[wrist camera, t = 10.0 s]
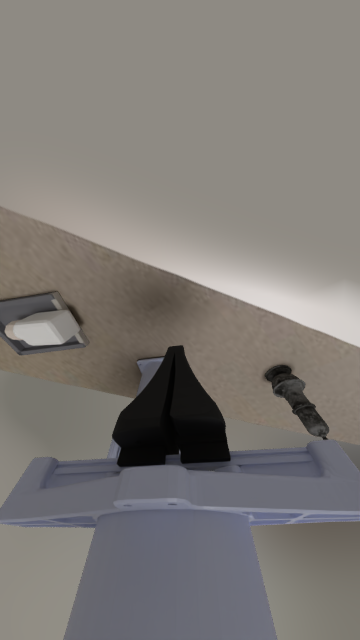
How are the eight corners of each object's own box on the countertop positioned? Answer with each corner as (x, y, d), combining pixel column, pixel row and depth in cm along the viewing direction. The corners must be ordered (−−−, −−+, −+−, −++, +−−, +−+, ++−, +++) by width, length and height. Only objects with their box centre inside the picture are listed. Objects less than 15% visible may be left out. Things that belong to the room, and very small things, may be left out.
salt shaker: (297, 373, 31) (357, 443, 20) (271, 385, 33) (314, 454, 22) (285, 360, 28) (345, 429, 18) (258, 373, 31) (299, 443, 20)
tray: (89, 342, 26) (85, 347, 25) (25, 351, 27) (19, 355, 26) (57, 291, 21) (51, 294, 20) (-20, 303, 22) (-29, 307, 21)
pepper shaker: (83, 329, 23) (39, 332, 25) (70, 307, 21) (22, 313, 23) (63, 345, 20) (13, 348, 22) (44, 322, 18) (-8, 326, 20)
